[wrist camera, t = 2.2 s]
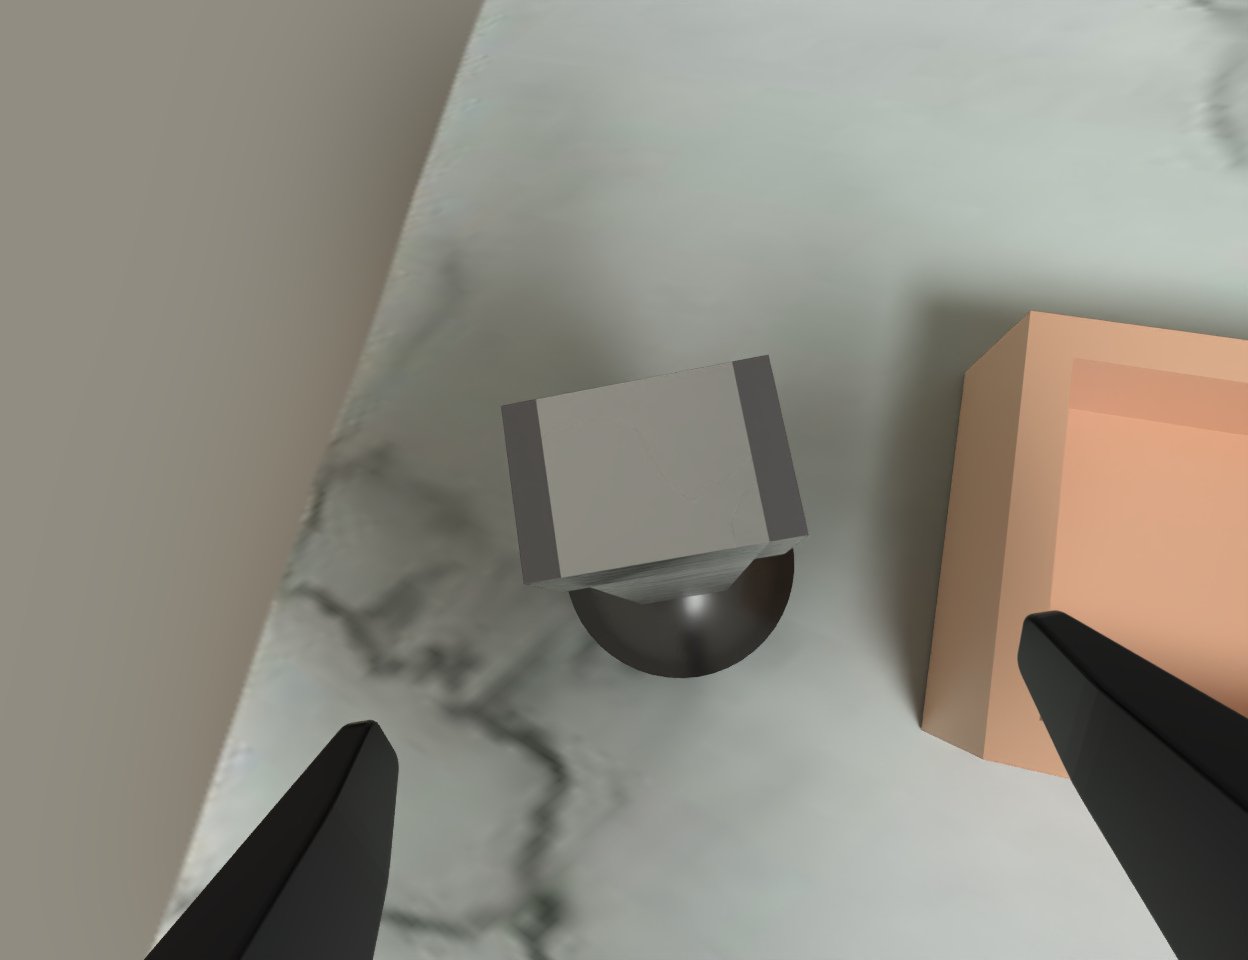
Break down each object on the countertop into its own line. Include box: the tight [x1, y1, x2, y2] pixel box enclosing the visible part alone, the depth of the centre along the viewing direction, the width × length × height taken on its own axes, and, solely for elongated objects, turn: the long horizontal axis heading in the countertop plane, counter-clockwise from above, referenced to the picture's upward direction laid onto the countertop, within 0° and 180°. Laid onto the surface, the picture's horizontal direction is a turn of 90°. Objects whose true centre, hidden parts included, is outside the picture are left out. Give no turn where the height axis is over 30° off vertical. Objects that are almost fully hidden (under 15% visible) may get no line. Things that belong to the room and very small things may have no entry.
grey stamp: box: [501, 355, 808, 678], centre depth 13 cm, size 6×6×12 cm
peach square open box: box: [921, 311, 1248, 779], centre depth 16 cm, size 10×10×4 cm
